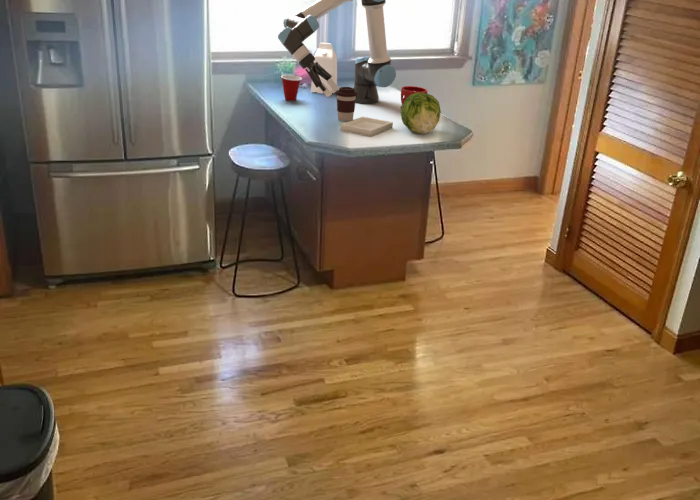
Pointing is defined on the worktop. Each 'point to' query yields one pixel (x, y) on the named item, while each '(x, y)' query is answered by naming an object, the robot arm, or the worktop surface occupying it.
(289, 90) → the plastic cup
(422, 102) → the lettuce
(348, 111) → the coffee cup
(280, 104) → the worktop surface
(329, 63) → the milk
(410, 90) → the plant pot
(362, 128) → the tray
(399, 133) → the worktop surface
